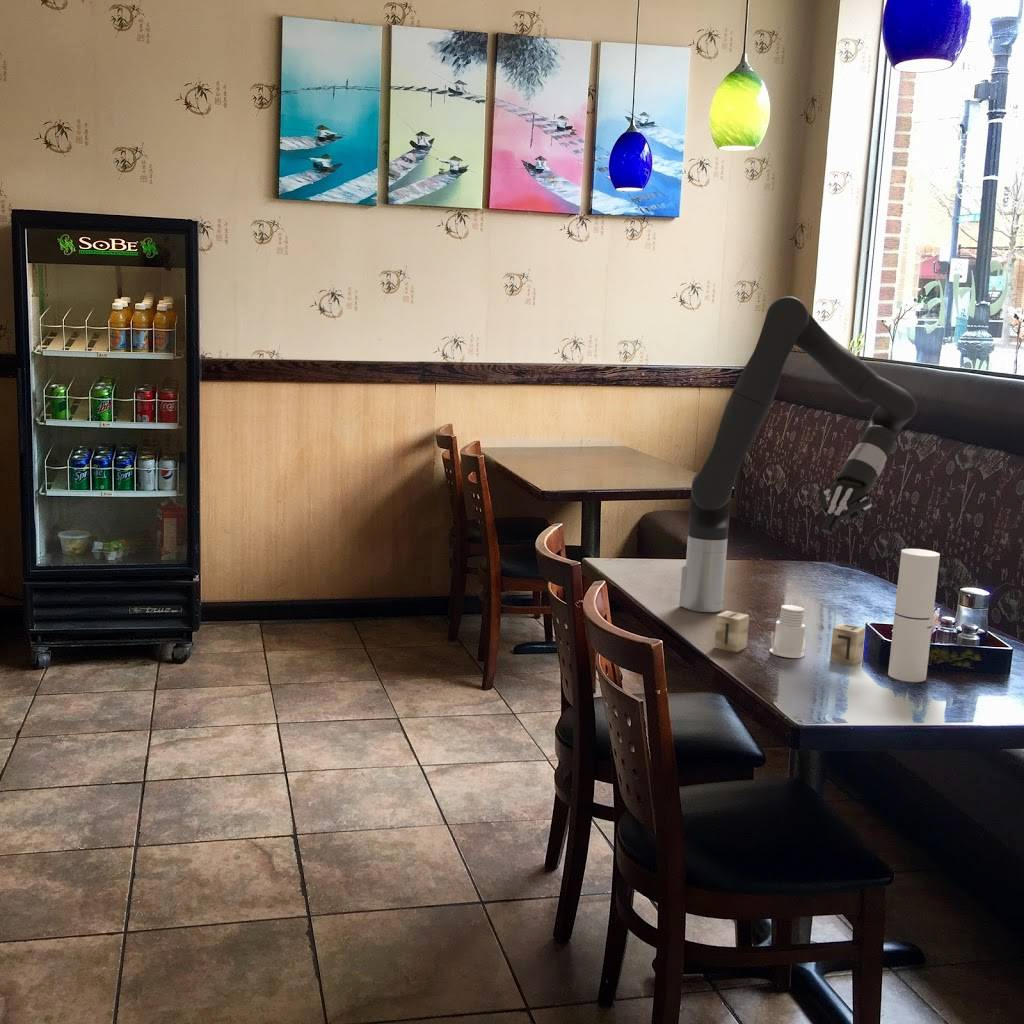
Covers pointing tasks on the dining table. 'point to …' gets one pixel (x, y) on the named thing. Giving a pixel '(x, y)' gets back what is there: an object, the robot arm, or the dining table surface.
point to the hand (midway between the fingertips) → (826, 531)
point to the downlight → (789, 633)
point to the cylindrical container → (913, 614)
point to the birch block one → (731, 631)
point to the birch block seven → (847, 644)
